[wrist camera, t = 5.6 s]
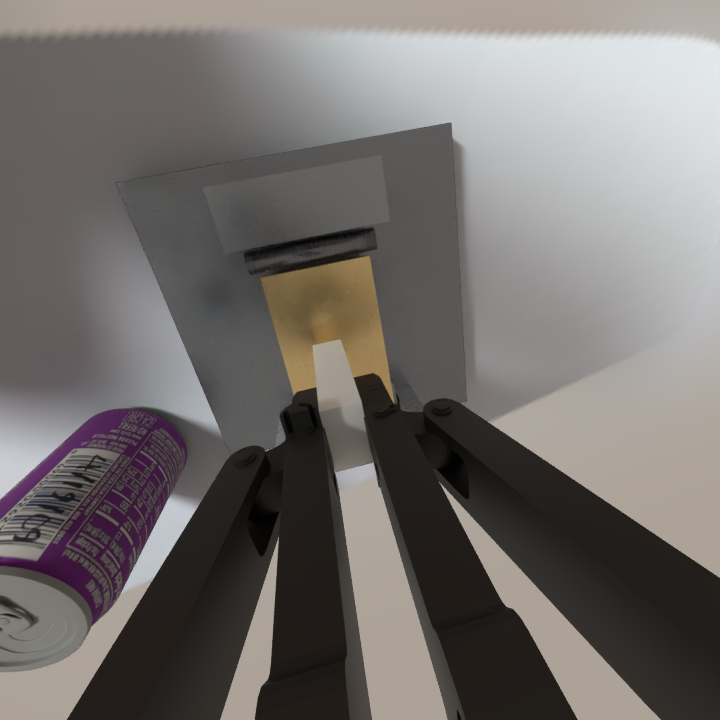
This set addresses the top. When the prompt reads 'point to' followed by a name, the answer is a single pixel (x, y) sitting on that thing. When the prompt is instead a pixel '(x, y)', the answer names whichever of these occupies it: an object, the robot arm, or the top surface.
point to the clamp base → (299, 223)
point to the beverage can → (80, 532)
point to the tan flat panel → (324, 303)
